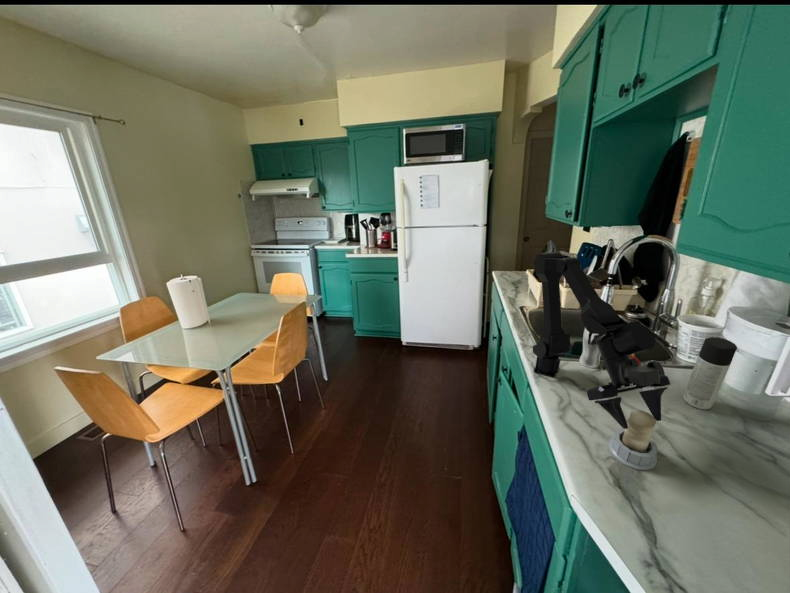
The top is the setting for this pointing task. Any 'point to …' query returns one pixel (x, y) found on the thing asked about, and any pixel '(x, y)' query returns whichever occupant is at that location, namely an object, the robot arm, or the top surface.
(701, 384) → the spray can
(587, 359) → the beer glass
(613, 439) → the round socket
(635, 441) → the birch plug
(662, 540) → the top surface
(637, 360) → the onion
